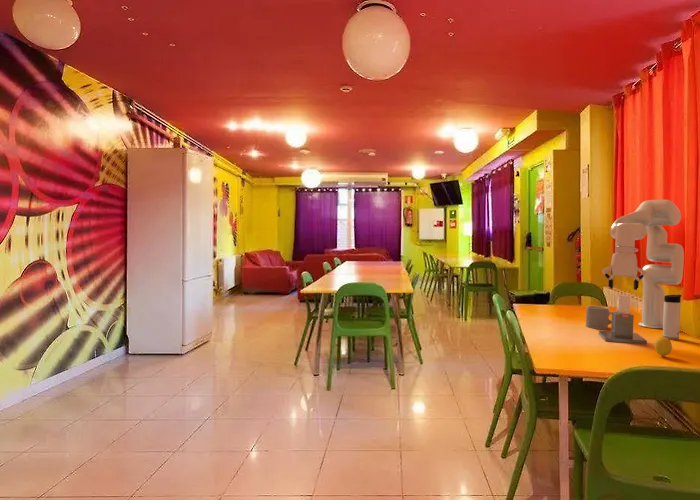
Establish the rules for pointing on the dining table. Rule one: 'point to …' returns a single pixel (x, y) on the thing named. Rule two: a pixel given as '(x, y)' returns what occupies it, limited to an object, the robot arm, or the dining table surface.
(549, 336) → the dining table surface
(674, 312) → the travel mug
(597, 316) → the coffee mug
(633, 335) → the post stand
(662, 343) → the lemon
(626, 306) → the steel post
